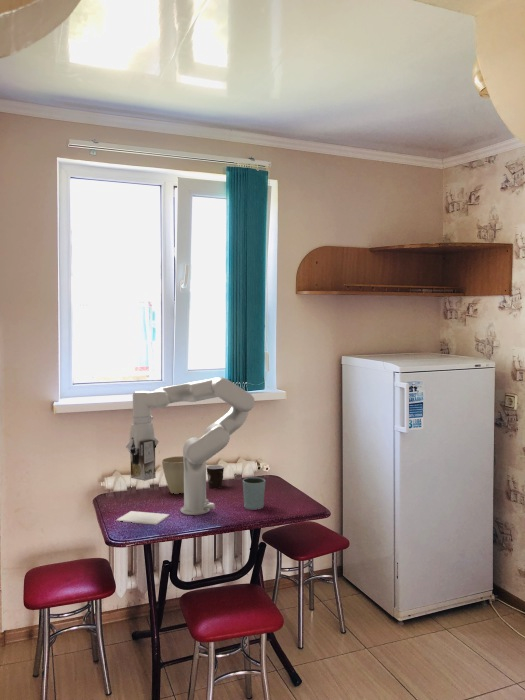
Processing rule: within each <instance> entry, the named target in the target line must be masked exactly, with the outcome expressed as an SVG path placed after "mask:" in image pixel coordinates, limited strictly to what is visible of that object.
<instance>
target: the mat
mask: <svg viewBox="0 0 525 700" xmlns="http://www.w3.org/2000/svg"><path fill="white" fill-rule="evenodd" d="M168 517H170V514H169V513H158V512H157V513H156V512H147V511H135V510H130V511H129V512H127V513H125V514H123V515H122V516H120V517H118V518H117V519H116V522H120V521H123V523H131V522H132V523H133V524H144V525H154V526H155V525H156V526H157V525H159V524H160V523H161V522H162V521H164V520H166V519H168Z"/></svg>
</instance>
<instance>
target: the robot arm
mask: <svg viewBox="0 0 525 700" xmlns="http://www.w3.org/2000/svg"><path fill="white" fill-rule="evenodd" d="M215 398H219V399H221V400H222V401H224V402H225V403H227V404H228V405H230V409H229V410H228V411H227V412H226V413H225V414H224V415H222V416H220V418H218V419H217V420H216V421H214V422H213V423H211V424H210V425H208V426H207V427H206V429H205V431H204V435H202V436H201V437H200V438H199V437H195V436H192V437H190V438H188V439H187V440H186V441H185V442H184V444H183V446H182V456H183V461H184V493H183V506H182V507H180V513H182V514H184V515H188V516H199V515H203V514H207V513H209V512H210V511H211V510H214V509H215V508H216V504H215V503H214V502H210V501H209V499H207V464H206V462H207V461H209V459H212V458H213V457H214V456H215V455H216V454H218V453H219V452H221V451H222V450H223V449H225V447H226V446H227V445H228V444H229V442H230V438H231V437H230V436H231V435H232V434H233V433H235V432H236V431H237V430H239V429H240V428H241V427H242V426H243V425H244V424H245V422H246V420H247V418H248V415H249V412H250V411H251V410H253V408H254V407H255V403H256V401H255V397H254V396H253V395H252V394H251V393H250V392H248V391H247V390H245V389H243V388H242V387H240V386H239V385H237V384H235V383H234V382H232V381H231V380H229V379H228V378H225V377H223V376H219V377H218V376H216V377H212V378H208V379H201V380H196V381H191V382H186V383H185V382H184V383H182V384H176V385H170V386H165V387H164V386H163V387H159V388H156V389H154V390H153V391H149V390H137V391H134V392H133V393H132V423H131V424H130V430H129V439H128V441H129V442H128V444H127V445H126V446H125V448H126V449H127V451H128V452H129V453H131V454H132V461H133V464H136V465H137V464H139V459H138V455H137V453H138V450H139V448H140V442H143V441H147V440H155V449H156V448H157V445H159V440H158V439H157V438H156V437H155V430H154V429H155V428H154V424H153V422H152V420H154V416H152V408H153V409H164V408H166V407H167V406H169V404H175V403H180V402H181V403H182V402H187V403H194V402H195V403H196V402H200V401H206V400H210V399H215ZM133 443H134V445H133ZM132 445H133V446H132ZM131 447H133V449H132V448H131ZM135 449H136V450H135Z"/></svg>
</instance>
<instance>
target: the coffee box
mask: <svg viewBox="0 0 525 700" xmlns="http://www.w3.org/2000/svg"><path fill="white" fill-rule="evenodd" d="M133 445H134V443H133ZM133 445H132V446H133ZM131 448H132V449H133V447H131ZM135 450H136V449H135ZM129 453H130V452H129ZM129 455H130V458H129V459H130V479H133V480H139V481H144V482H145V481H150V480H153V479H156V448H155V440H147V441H143V442H140V448H139V450H138V453H137V455H138V459H139V464H137V465H136V464H133V461H132V454H131V453H130V454H129Z"/></svg>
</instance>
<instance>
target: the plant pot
mask: <svg viewBox="0 0 525 700" xmlns="http://www.w3.org/2000/svg"><path fill="white" fill-rule="evenodd" d="M161 463H162V469H163V474H164V478H165V481H166V484H167V487H168V490H169V492H170V494H173V493H174V494H175V495H179V493H181V494H184V461H183V455H179V456H169V457H165V458H163V459H161Z"/></svg>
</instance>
